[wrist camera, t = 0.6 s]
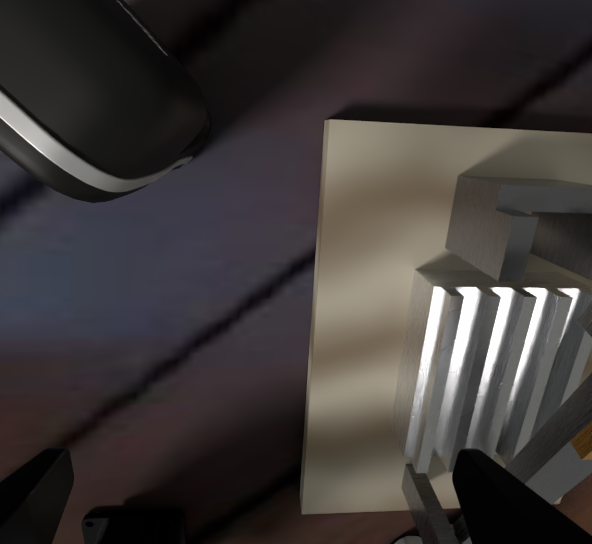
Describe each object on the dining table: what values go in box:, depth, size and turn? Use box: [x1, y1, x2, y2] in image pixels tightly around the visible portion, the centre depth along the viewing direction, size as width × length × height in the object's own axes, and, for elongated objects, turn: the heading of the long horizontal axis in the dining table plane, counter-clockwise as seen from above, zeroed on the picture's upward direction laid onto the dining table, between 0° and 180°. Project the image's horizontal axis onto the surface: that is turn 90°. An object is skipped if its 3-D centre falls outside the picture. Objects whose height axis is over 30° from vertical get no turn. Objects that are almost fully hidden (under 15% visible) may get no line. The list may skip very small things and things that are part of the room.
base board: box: [300, 119, 592, 514], centre depth 23 cm, size 24×18×2 cm
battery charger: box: [0, 0, 211, 203], centre depth 12 cm, size 7×4×11 cm, turn 42°
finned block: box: [390, 269, 592, 473], centre depth 21 cm, size 10×8×4 cm
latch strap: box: [450, 302, 592, 544], centre depth 17 cm, size 17×2×3 cm, turn 177°
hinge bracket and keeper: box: [401, 176, 592, 544], centre depth 19 cm, size 20×5×6 cm, turn 177°
